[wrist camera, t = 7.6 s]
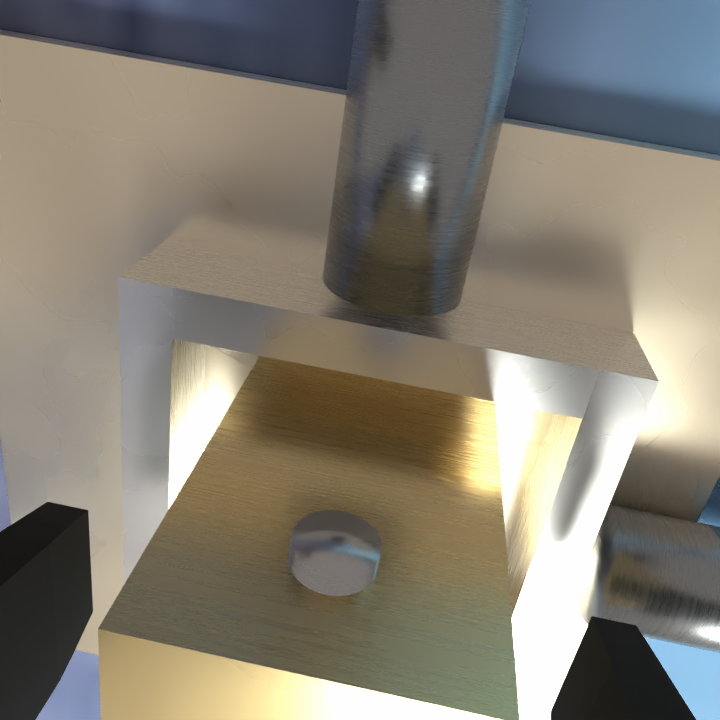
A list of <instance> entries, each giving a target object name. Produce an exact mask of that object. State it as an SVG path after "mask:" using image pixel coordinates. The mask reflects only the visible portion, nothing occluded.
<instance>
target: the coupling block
mask: <svg viewBox="0 0 720 720" xmlns="http://www.w3.org/2000/svg"><path fill="white" fill-rule="evenodd" d="M98 647H99V675H100V703H101V720H520V716H519V703H518V690H517V677H516V664H515V651H514V638H513V625H512V612H511V599H510V586H509V573H508V560H507V547H506V534H505V521H504V508H503V495H502V482H501V469H500V455H499V442H498V429H497V416H496V403H495V402H493V401H488V400H483V399H478V398H473V397H468V396H463V395H458V394H453V393H447V392H442V391H437V390H432V389H427V388H422V387H417V386H412V385H407V384H402V383H397V382H392V381H386V380H381V379H376V378H371V377H366V376H361V375H356V374H351V373H346V372H341V371H336V370H331V369H325V368H320V367H315V366H310V365H305V364H300V363H295V362H290V361H285V360H280V359H275V358H270V357H264V356H259V358H258V359H257V361H256V363H255V365H254V366H253V368H252V370H251V371H250V373H249V375H248V376H247V378H246V380H245V381H244V383H243V385H242V386H241V388H240V390H239V392H238V393H237V395H236V397H235V398H234V400H233V402H232V403H231V405H230V407H229V408H228V410H227V412H226V413H225V415H224V417H223V419H222V420H221V422H220V424H219V425H218V427H217V429H216V430H215V432H214V434H213V435H212V437H211V439H210V440H209V442H208V444H207V446H206V447H205V449H204V451H203V452H202V454H201V456H200V457H199V459H198V461H197V462H196V464H195V466H194V467H193V469H192V471H191V473H190V474H189V476H188V478H187V479H186V481H185V483H184V484H183V486H182V488H181V489H180V491H179V493H178V494H177V496H176V498H175V500H174V501H173V503H172V505H171V506H170V508H169V510H168V511H167V513H166V515H165V516H164V518H163V520H162V521H161V523H160V525H159V527H158V528H157V530H156V532H155V533H154V535H153V537H152V538H151V540H150V542H149V543H148V545H147V547H146V548H145V550H144V552H143V554H142V555H141V557H140V559H139V560H138V562H137V564H136V565H135V567H134V569H133V570H132V572H131V574H130V575H129V577H128V579H127V581H126V582H125V584H124V586H123V587H122V589H121V591H120V592H119V594H118V596H117V597H116V599H115V601H114V602H113V604H112V606H111V608H110V609H109V611H108V613H107V614H106V616H105V618H104V619H103V621H102V623H101V624H100V626H99V628H98Z"/></svg>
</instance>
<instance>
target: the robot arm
mask: <svg viewBox="0 0 720 720" xmlns="http://www.w3.org/2000/svg"><path fill="white" fill-rule="evenodd" d="M92 613H93V599H92V578H91V557H90V536H89V515H88V510H85V509H80V508H76V507H71V506H66V505H61V504H57V503H52V502H46V503H45V504H43V505H41V506H40V507H38V508H37V509H35V510H34V511H32V512H30V513H29V514H27V515H26V516H24V517H23V518H21V519H19V520H18V521H16V522H15V523H13V524H12V525H10V526H9V527H7V528H6V529H4V530H2V531H1V532H0V720H35V719H36V718H37V716H38V715H39V713H40V711H41V710H42V708H43V707H44V705H45V703H46V702H47V700H48V699H49V697H50V695H51V694H52V692H53V691H54V689H55V687H56V686H57V684H58V682H59V681H60V679H61V677H62V675H63V673H64V671H65V669H66V667H67V665H68V663H69V661H70V659H71V657H72V655H73V653H74V651H75V649H76V647H77V645H78V643H79V641H80V638H81V636H82V634H83V632H84V630H85V628H86V626H87V624H88V621H89V619H90V617H91V615H92ZM551 720H696V719H695V717H694V716H693V714H692V712H691V711H690V709H689V708H688V706H687V705H686V703H685V702H684V700H683V698H682V697H681V695H680V694H679V692H678V690H677V689H676V687H675V686H674V684H673V683H672V681H671V679H670V678H669V676H668V675H667V673H666V671H665V670H664V668H663V667H662V665H661V663H660V662H659V660H658V659H657V657H656V656H655V654H654V652H653V651H652V649H651V648H650V646H649V644H648V643H647V641H646V640H645V638H644V637H643V635H642V634H641V632H640V630H639V629H638V627H637V626H636V625H632V624H627V623H623V622H618V621H613V620H608V619H604V618H599V617H594V616H591V619H590V621H589V623H588V626H587V628H586V630H585V633H584V635H583V637H582V640H581V642H580V644H579V647H578V649H577V651H576V654H575V656H574V658H573V661H572V663H571V665H570V667H569V670H568V672H567V674H566V677H565V679H564V681H563V684H562V686H561V688H560V691H559V693H558V695H557V698H556V700H555V702H554V705H553V707H552V709H551Z"/></svg>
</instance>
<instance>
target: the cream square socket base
mask: <svg viewBox="0 0 720 720" xmlns="http://www.w3.org/2000/svg"><path fill="white" fill-rule="evenodd" d="M530 4H531V0H358V8H357V15H356V23H355V31H354V38H353V46H352V54H351V61H350V69H349V77H348V85H347V90H344V89H338V88H332V87H327V86H321V85H315V84H309V83H304V82H298V81H292V80H287V79H281V78H275V77H269V76H264V75H258V74H252V73H247V72H241V71H235V70H229V69H224V68H218V67H212V66H207V65H201V64H195V63H189V62H184V61H178V60H172V59H167V58H161V57H155V56H149V55H144V54H138V53H132V52H127V51H121V50H115V49H109V48H104V47H98V46H92V45H87V44H81V43H75V42H69V41H64V40H58V39H52V38H47V37H41V36H35V35H29V34H24V33H18V32H12V31H7V30H1V29H0V436H1V444H2V453H3V461H4V470H5V478H6V487H7V496H8V504H9V513H10V521H11V525H12V524H13V523H15V522H16V521H18V520H19V519H21V518H23V517H24V516H26V515H27V514H29V513H30V512H32V511H34V510H35V509H37V508H38V507H40V506H41V505H43V504H45V503H46V502H52V503H57V504H61V505H66V506H71V507H76V508H80V509H85V510H88V515H89V536H90V557H91V578H92V599H93V613H92V615H91V617H90V619H89V621H88V624H87V626H86V628H85V630H84V632H83V634H82V636H81V638H80V641H79V643H78V645H77V647H76V649H75V650H79V651H84V652H88V653H93V654H97V655H99V647H98V628H99V626H100V624H101V623H102V621H103V619H104V618H105V616H106V614H107V613H108V611H109V609H110V608H111V606H112V604H113V602H114V601H115V599H116V597H117V596H118V594H119V592H120V591H121V589H122V587H123V586H124V584H125V582H126V581H127V579H128V577H129V575H130V574H131V572H132V570H133V569H134V567H135V565H136V564H137V562H138V560H139V559H140V557H141V555H142V554H143V552H144V550H145V548H146V547H147V545H148V543H149V542H150V540H151V538H152V537H153V535H154V533H155V532H156V530H157V528H158V527H159V525H160V523H161V521H162V520H163V518H164V516H165V515H166V513H167V511H168V510H169V508H170V506H171V505H172V503H173V501H174V500H175V498H176V496H177V494H178V493H179V491H180V489H181V488H182V486H183V484H184V483H185V481H186V479H187V478H188V476H189V474H190V473H191V471H192V469H193V467H194V466H195V464H196V462H197V461H198V459H199V457H200V456H201V454H202V452H203V451H204V449H205V447H206V446H207V444H208V442H209V440H210V439H211V437H212V435H213V434H214V432H215V430H216V429H217V427H218V425H219V424H220V422H221V420H222V419H223V417H224V415H225V413H226V412H227V410H228V408H229V407H230V405H231V403H232V402H233V400H234V398H235V397H236V395H237V393H238V392H239V390H240V388H241V386H242V385H243V383H244V381H245V380H246V378H247V376H248V375H249V373H250V371H251V370H252V368H253V366H254V365H255V363H256V361H257V359H258V358H259V356H264V357H270V358H275V359H280V360H285V361H290V362H295V363H300V364H305V365H310V366H315V367H320V368H325V369H331V370H336V371H341V372H346V373H351V374H356V375H361V376H366V377H371V378H376V379H381V380H386V381H392V382H397V383H402V384H407V385H412V386H417V387H422V388H427V389H432V390H437V391H442V392H447V393H453V394H458V395H463V396H468V397H473V398H478V399H483V400H488V401H493V402H495V403H496V416H497V429H498V442H499V455H500V469H501V482H502V495H503V508H504V521H505V534H506V547H507V560H508V573H509V586H510V599H511V612H512V625H513V638H514V651H515V664H516V677H517V690H518V703H519V716H520V720H551V709H552V707H553V705H554V702H555V700H556V698H557V695H558V693H559V691H560V688H561V686H562V684H563V681H564V679H565V677H566V674H567V672H568V670H569V667H570V665H571V663H572V661H573V658H574V656H575V654H576V651H577V649H578V647H579V644H580V642H581V640H582V637H583V635H584V633H585V630H586V628H587V626H588V623H589V621H590V619H591V616H594V617H599V618H604V619H608V620H613V621H618V622H623V623H627V624H632V625H636V626H637V627H638V629H639V630H640V632H641V634H642V635H643V637H647V638H652V639H657V640H661V641H666V642H671V643H676V644H680V645H685V646H690V647H694V648H699V649H704V650H709V651H713V652H718V653H720V527H718V526H713V525H708V524H703V523H698V522H697V521H698V519H699V517H700V515H701V513H702V511H703V509H704V507H705V505H706V503H707V501H708V499H709V497H710V495H711V493H712V491H713V488H714V486H715V484H716V482H717V480H718V478H719V476H720V155H715V154H709V153H704V152H698V151H692V150H687V149H681V148H675V147H669V146H664V145H658V144H652V143H647V142H641V141H635V140H629V139H624V138H618V137H612V136H607V135H601V134H595V133H589V132H584V131H578V130H572V129H567V128H561V127H555V126H549V125H544V124H538V123H532V122H527V121H521V120H515V119H509V118H504V114H505V110H506V106H507V102H508V97H509V93H510V89H511V85H512V80H513V76H514V72H515V68H516V63H517V59H518V55H519V50H520V46H521V42H522V38H523V33H524V29H525V25H526V21H527V16H528V12H529V8H530Z"/></svg>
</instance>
